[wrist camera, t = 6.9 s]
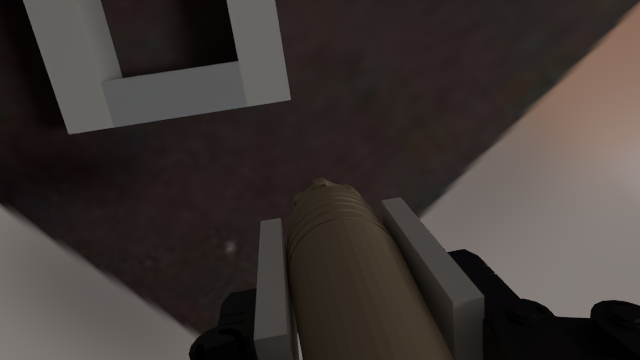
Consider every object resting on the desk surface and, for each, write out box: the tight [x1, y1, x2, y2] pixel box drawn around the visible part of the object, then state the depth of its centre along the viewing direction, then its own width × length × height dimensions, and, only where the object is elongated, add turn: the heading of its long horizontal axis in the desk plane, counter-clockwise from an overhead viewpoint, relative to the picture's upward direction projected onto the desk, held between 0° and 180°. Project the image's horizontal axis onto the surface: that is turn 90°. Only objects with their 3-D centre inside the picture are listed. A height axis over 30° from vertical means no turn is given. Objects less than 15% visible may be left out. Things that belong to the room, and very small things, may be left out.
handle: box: [287, 177, 454, 360], centre depth 12 cm, size 5×6×15 cm
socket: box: [23, 0, 291, 134], centre depth 27 cm, size 15×15×4 cm
